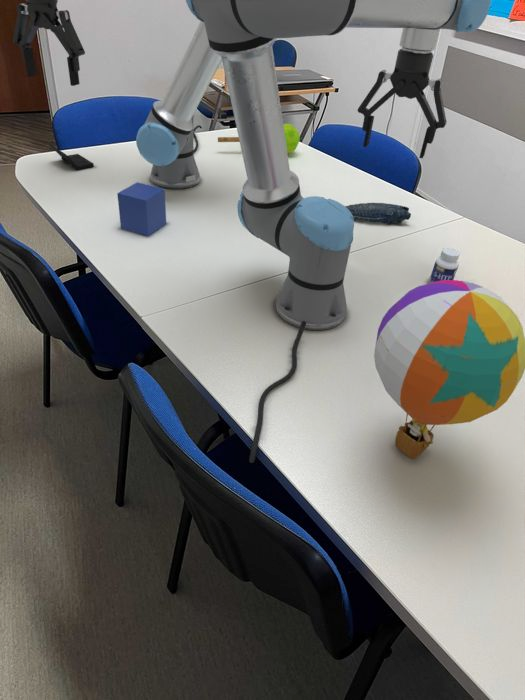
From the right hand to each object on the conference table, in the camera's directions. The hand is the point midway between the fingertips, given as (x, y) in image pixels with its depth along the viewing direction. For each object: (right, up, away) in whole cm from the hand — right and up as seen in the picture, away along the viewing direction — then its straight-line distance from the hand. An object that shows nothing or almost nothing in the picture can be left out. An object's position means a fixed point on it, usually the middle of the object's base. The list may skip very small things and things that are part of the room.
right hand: (393, 151), depth 124 cm
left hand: (-87, +24, +14) cm, 91 cm away
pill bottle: (+11, -32, +1) cm, 34 cm away
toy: (-8, -64, -41) cm, 76 cm away
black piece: (-93, +13, +44) cm, 104 cm away
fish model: (+1, -9, +28) cm, 30 cm away
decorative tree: (-33, +24, +66) cm, 78 cm away
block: (-63, -15, +14) cm, 66 cm away
